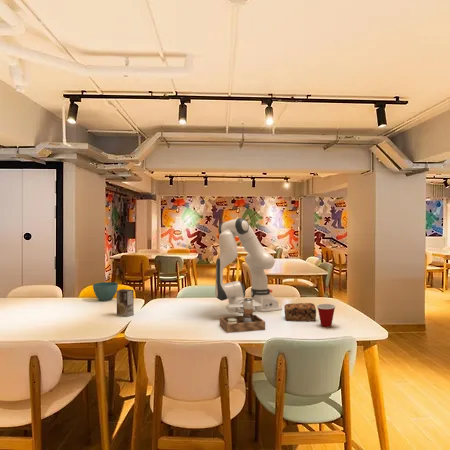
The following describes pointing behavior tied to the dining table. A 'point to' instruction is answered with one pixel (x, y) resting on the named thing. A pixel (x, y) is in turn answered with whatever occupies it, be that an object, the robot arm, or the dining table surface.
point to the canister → (248, 310)
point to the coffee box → (125, 302)
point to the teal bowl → (105, 290)
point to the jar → (232, 320)
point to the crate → (242, 324)
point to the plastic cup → (326, 314)
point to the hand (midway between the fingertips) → (248, 310)
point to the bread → (300, 312)
